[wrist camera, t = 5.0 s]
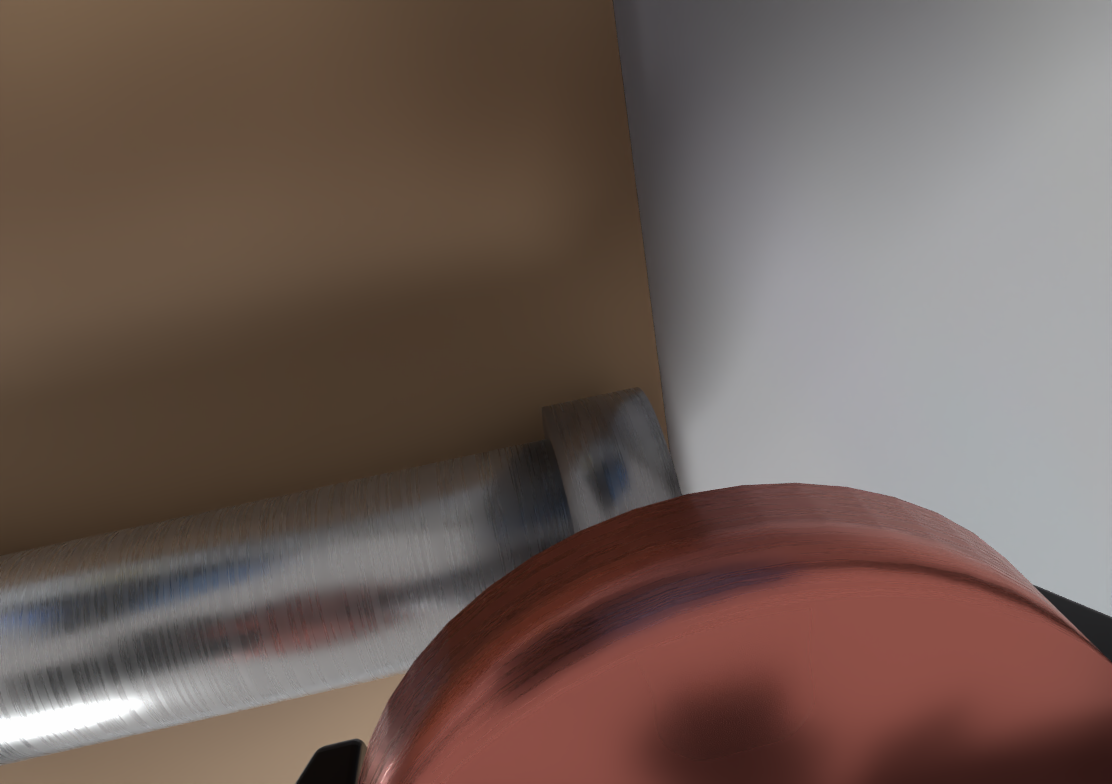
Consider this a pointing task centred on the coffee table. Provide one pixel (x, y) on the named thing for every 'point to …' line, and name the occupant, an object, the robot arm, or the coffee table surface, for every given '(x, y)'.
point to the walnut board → (296, 277)
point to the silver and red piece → (569, 626)
